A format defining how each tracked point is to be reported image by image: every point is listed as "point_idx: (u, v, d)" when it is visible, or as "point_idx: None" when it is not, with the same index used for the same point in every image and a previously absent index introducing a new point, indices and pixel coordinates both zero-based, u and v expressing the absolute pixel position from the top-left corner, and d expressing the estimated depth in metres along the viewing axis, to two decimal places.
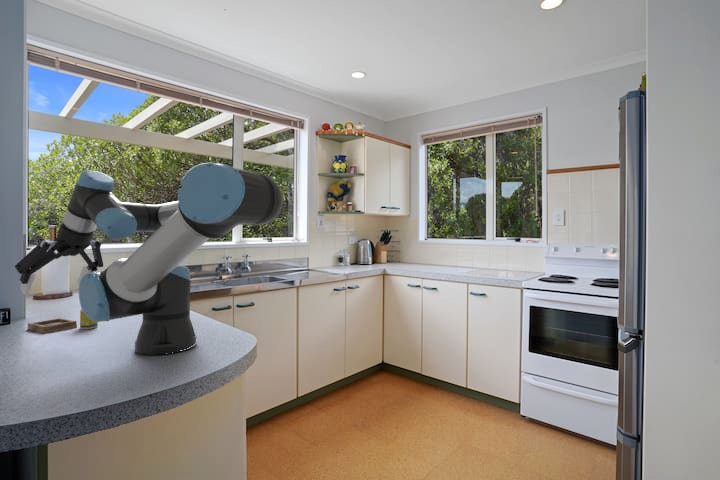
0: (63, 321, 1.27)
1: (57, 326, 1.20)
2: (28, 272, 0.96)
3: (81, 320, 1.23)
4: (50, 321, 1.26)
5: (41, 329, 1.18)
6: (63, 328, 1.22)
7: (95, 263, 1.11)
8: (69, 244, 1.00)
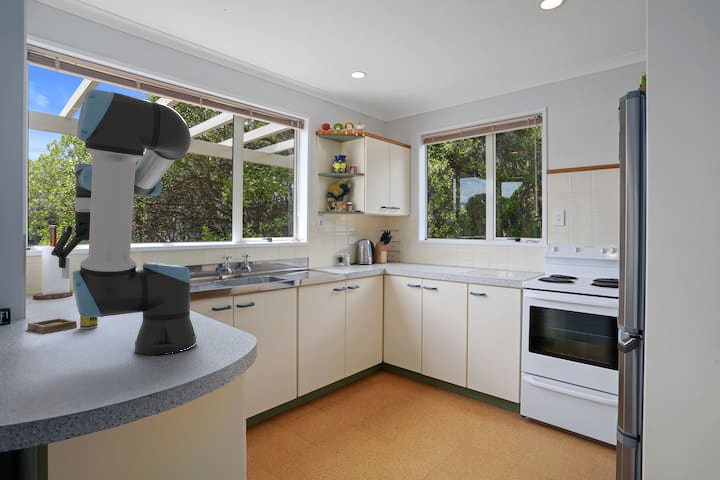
0: (63, 321, 1.27)
1: (57, 326, 1.20)
2: (63, 254, 1.16)
3: (81, 320, 1.23)
4: (50, 321, 1.26)
5: (41, 329, 1.18)
6: (63, 328, 1.22)
7: None
8: (87, 228, 1.23)
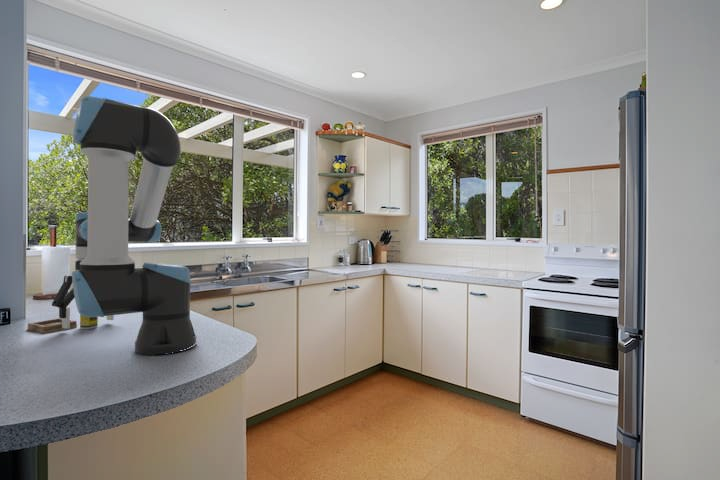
0: None
1: (57, 326, 1.20)
2: (63, 305, 1.17)
3: (81, 320, 1.23)
4: (50, 321, 1.26)
5: (41, 329, 1.18)
6: (63, 328, 1.22)
7: None
8: None
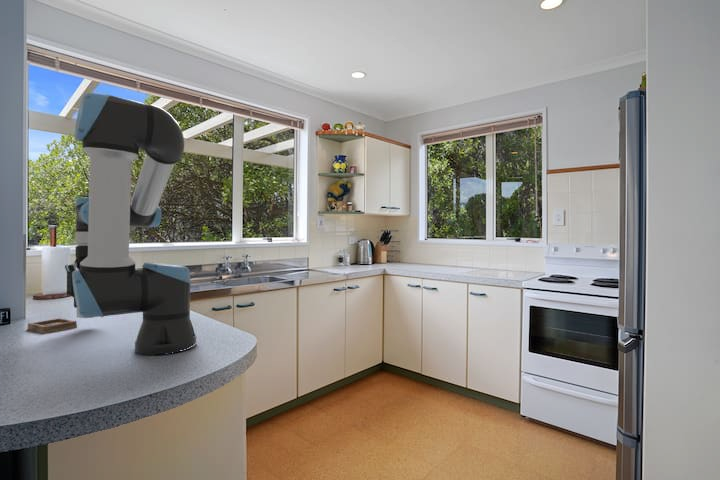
0: (63, 321, 1.27)
1: (57, 326, 1.20)
2: None
3: None
4: (50, 321, 1.26)
5: (41, 329, 1.18)
6: (63, 328, 1.22)
7: None
8: None
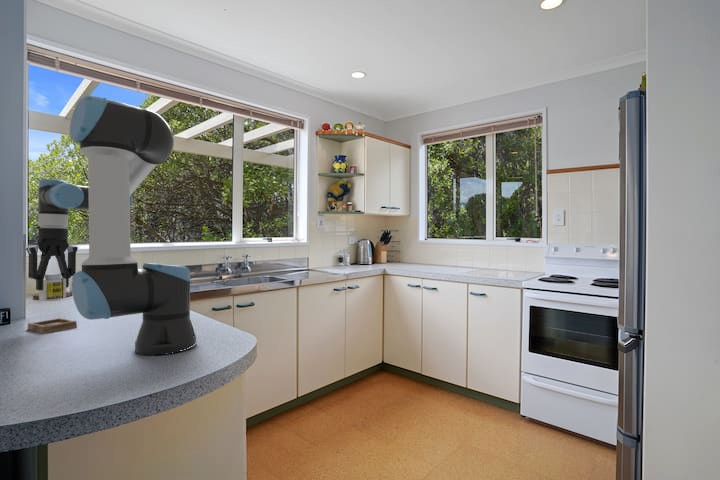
0: (63, 321, 1.27)
1: (57, 326, 1.20)
2: (40, 278, 1.19)
3: None
4: (50, 321, 1.26)
5: (41, 329, 1.18)
6: (63, 328, 1.22)
7: (68, 271, 1.27)
8: (49, 241, 1.21)
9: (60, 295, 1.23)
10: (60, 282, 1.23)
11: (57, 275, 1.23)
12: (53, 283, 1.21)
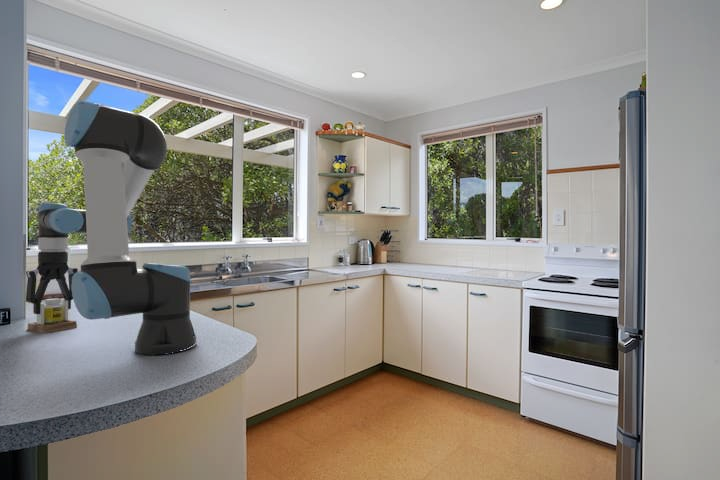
0: (63, 321, 1.27)
1: (57, 326, 1.20)
2: (37, 301, 1.18)
3: (44, 317, 1.21)
4: None
5: (41, 329, 1.18)
6: (63, 328, 1.22)
7: (70, 293, 1.28)
8: (49, 265, 1.21)
9: (60, 320, 1.23)
10: (60, 307, 1.23)
11: (57, 300, 1.23)
12: (53, 308, 1.21)
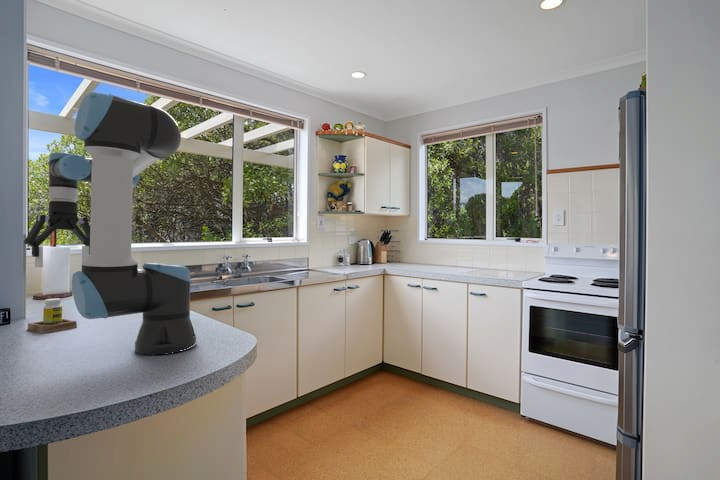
0: (63, 321, 1.27)
1: (57, 326, 1.20)
2: (36, 243, 1.16)
3: (44, 317, 1.21)
4: None
5: (41, 329, 1.18)
6: (63, 328, 1.22)
7: None
8: (61, 217, 1.22)
9: (60, 320, 1.23)
10: (60, 307, 1.23)
11: (57, 300, 1.23)
12: (53, 308, 1.21)
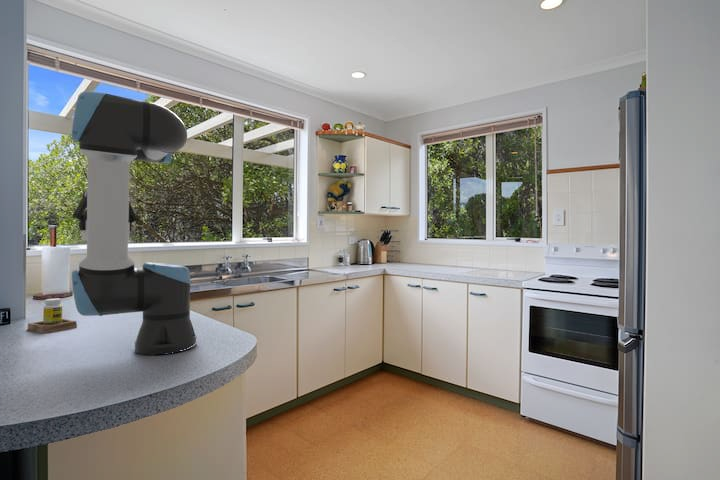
0: (63, 321, 1.27)
1: (57, 326, 1.20)
2: (83, 217, 1.23)
3: (44, 317, 1.21)
4: None
5: (41, 329, 1.18)
6: (63, 328, 1.22)
7: None
8: None
9: (60, 320, 1.23)
10: (60, 307, 1.23)
11: (57, 300, 1.23)
12: (53, 308, 1.21)
